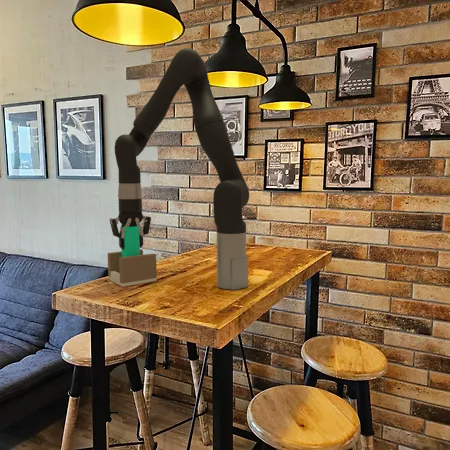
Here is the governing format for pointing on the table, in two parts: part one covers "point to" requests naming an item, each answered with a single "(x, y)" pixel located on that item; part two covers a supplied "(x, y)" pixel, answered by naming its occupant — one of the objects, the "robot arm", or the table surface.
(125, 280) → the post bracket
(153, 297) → the table surface
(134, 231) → the candle
